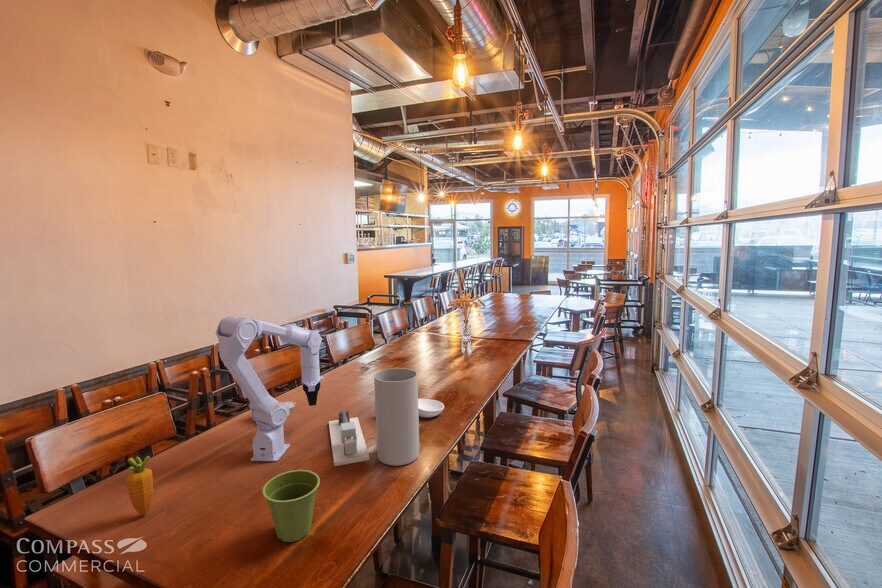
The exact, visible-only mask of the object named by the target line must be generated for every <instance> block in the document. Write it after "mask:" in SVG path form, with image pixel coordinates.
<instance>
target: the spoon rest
mask: <svg viewBox="0 0 882 588" xmlns="http://www.w3.org/2000/svg"><path fill="white" fill-rule="evenodd" d="M444 409H445V405H444V403H443V402H441V401H439V400H435V399H432V398H431V399H429V398H418V414H419V417H420V418H425V419H428V418H429V419H430V418H433V417H437V416H438V415H440V414H441V413H442V412H443V410H444Z"/></svg>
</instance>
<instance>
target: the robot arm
mask: <svg viewBox="0 0 882 588" xmlns="http://www.w3.org/2000/svg"><path fill="white" fill-rule="evenodd" d="M261 334H265V335H271V336H275V337H279V339H280V341H281V342H283V343H287V344H290V345H291V344H292V345H295V346H298V347H299V348H300V349H299V350H300V366H301V367H300V369H301V383H302V389H303V390H302V391H304V393H305V395H306V399H307V403H308V405H309V407H313V406H317V400H318V396H319V395H318V394H319V391H320V389H321V381H323V380H324V379H325V377H324V375H321V373H320V372H321V371H320V370H321V369H320V368H321V367H320V350H321V349H320V348H321V344H322V343H323V341H322V340H323V337H322V336H321V334H320V333H319V332H318V331H317V330H312V329H308V327H306V326H302V327H301V326H297V324H296V323H295V322H294V323H293V322H290V323H286V324H283V325H278V324H275V323H271V322H268V321H266V320H265V321H264V320H260V319H255V318H245V317H234V316H231V315H230V316H225V317H223V318H222V319H221V320H220V321H219V322H218V326H217V329H216V330H215V335H216V337H217V339H218V349H219V351H218V352H219V358H220V359H221V362H223V364H224V366H225V367H226V368H227V370H228V372H229V373H230V374H231V376H232V377H233V379H234V380H235V382H236V383H237V385H238V387H239V388H240V389H241V391H242V392H243V393H244V395H245V396H246V398H247V399H248V401H249V404H248V408H250V411H251V412H250V413H251V418H253V419H254V420H256V421H255V423H256V427H257V429H256V434H255V435H254V437H253V439H252V450H253V451H252V453H253V457H251V458H250V461H251V462H277V461H279V459H281V457H282V456H283V455H284V453H286V451H287V450H288V449H289V448H290V446H291V444H290V443H285V431H284V425H285V422H286V420H287V417H288V416H287V414H288V413H287V409H286V408H285V407H284V406H282V405H280V404H279V403H278V400H276V399H275V398H274V397H273V396H271V395H270V393H269V392H268V391H267V389H266V387H265V386H264V384H263V382H262V380H261V379H260V378H259V376H258V375H257V373H256V372H255V370H254V368H253V367H252V366H251V364H250V362H249V361H248V359H247V358H246V356H245V353H246V351H247V350H248V349H249V347H250V345H251V344H252V342H253V340H254V339H255V337H260V335H261ZM253 419H252V420H253ZM254 420H253V421H254Z"/></svg>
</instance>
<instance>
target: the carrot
mask: <svg viewBox="0 0 882 588" xmlns="http://www.w3.org/2000/svg"><path fill="white" fill-rule="evenodd" d="M150 459H151V458H150V456H148V455H146V456H145V457H144V460H143V461H142V459H141V458H140V457H139V456H136V457H135V459H134V458H133V457H130V458H128V460H127V463H129V464H130V465H131V466H129V467H128V470H131V472H129V474H128V475H127V477H126V485H127V491H128V495H129V499H130V502H131V504H132V506H133V508H134V509H135V511H136V512H137V513H138V514H139V515H140V516H142V517H146V516H147V514H148V512H149V510H150V507H151V504H152V501H153V494H154V478H153V471H152V469H150V468H148V467H146V465H147V463H148V461H149V460H150Z"/></svg>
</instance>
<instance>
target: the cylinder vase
mask: <svg viewBox="0 0 882 588" xmlns="http://www.w3.org/2000/svg"><path fill="white" fill-rule="evenodd" d="M418 375H419V374H418V372H417V371H416V370H414V369H411V368H406V367H405V368H404V367H395V368H394V367H393V368H392V367H391V368H386V369H382V370H379V371H377V372H376V373H374V375H373V376H374V377H373V381H374V404H375V405H374V407H375V429H376V431H375V434H376V437H375V438H376V455H377V457H376V458H377V459H378V461H380V462H381V463H382V464H384V465H388V466H393V467H394V466H395V467H397V466H399V467H400V466H404V465H408V464H410V463H413V462H414V461H415V460H417V458H418V457H419V456H420V421H419V420H420V419H419V417H420V416H419V414H418V399H419V387H418V385H419V380H418Z"/></svg>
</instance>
